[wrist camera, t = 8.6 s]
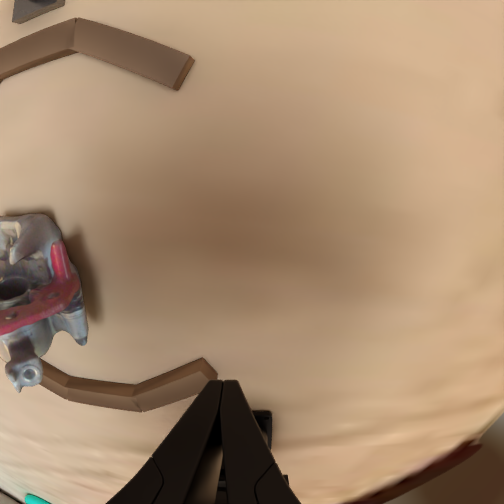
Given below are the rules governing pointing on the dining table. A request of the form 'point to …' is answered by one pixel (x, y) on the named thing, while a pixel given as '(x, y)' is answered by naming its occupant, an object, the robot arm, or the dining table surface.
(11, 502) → the soup bowl
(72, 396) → the bent brown bar
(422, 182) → the dining table surface
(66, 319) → the brake caliper
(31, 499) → the donuts
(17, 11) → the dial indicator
